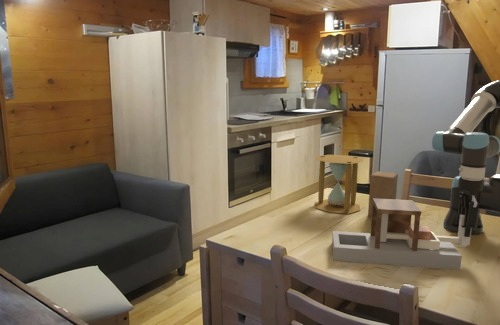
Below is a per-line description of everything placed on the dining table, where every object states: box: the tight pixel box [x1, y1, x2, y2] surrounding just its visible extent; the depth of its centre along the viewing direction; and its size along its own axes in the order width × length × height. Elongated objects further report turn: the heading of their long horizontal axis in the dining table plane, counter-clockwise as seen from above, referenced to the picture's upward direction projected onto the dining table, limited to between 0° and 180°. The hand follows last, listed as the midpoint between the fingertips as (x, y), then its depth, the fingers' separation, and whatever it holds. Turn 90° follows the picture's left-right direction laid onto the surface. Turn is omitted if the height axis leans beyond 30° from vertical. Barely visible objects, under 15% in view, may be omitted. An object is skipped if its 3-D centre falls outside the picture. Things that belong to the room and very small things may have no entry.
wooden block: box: [367, 170, 399, 218], centre depth 193 cm, size 10×10×20 cm
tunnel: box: [370, 198, 422, 251], centre depth 149 cm, size 14×14×14 cm
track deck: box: [331, 230, 463, 271], centre depth 151 cm, size 42×16×5 cm, turn 81°
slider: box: [380, 214, 468, 250], centre depth 148 cm, size 29×10×11 cm, turn 81°
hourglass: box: [314, 154, 364, 215], centre depth 206 cm, size 24×22×25 cm
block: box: [409, 224, 431, 240], centre depth 148 cm, size 6×6×6 cm
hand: (463, 242), depth 146 cm, fingers closed on slider, 2 cm apart
